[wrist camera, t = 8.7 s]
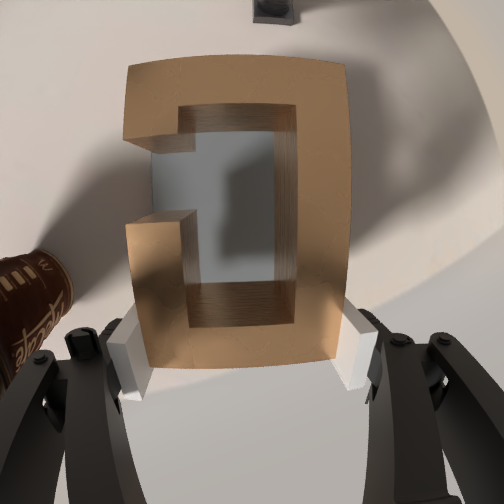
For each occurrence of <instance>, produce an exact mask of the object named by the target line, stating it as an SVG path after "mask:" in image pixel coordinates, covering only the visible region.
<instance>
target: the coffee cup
mask: <svg viewBox="0 0 504 504" xmlns="http://www.w3.org/2000/svg"><path fill="white" fill-rule="evenodd" d="M73 295H74V290H73V285H72V282H71V279H70V277H69V275H68V273H67V272H66V270H65V269H64V268H63V266H62V264H61V263H60V262H59V261H58V260H57V259H56V258H55V257H54V256H53V255H51V254H49V253H48V252H45V251H43V250H36V251H33V252H31V253H29V254H24V255H19V256H15V257H5V258H2V259H0V400H1V399H2V397H3V395H4V394H5V392H6V390H7V389H8V387H9V385H10V384H11V382H12V381H13V379H14V378H15V376H16V374H17V373H18V371H19V370H20V368H21V367H22V365H23V364H24V363H25V361H26V360H27V358H28V357H29V356H30V355H31V354H32V353H34V352H35V351H38V350H39V349H40V347H41V345H42V343H43V341H44V340H45V339H46V338H47V337H48V335H49V334H50V332H51V331H52V329H53V328H54V326H55V325H57V324H58V322H59V321H60V319H61V317H63V316H64V315H65V314H66V313H67V312H68V310H69V308H70V306H71V304H72V301H73Z"/></svg>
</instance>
